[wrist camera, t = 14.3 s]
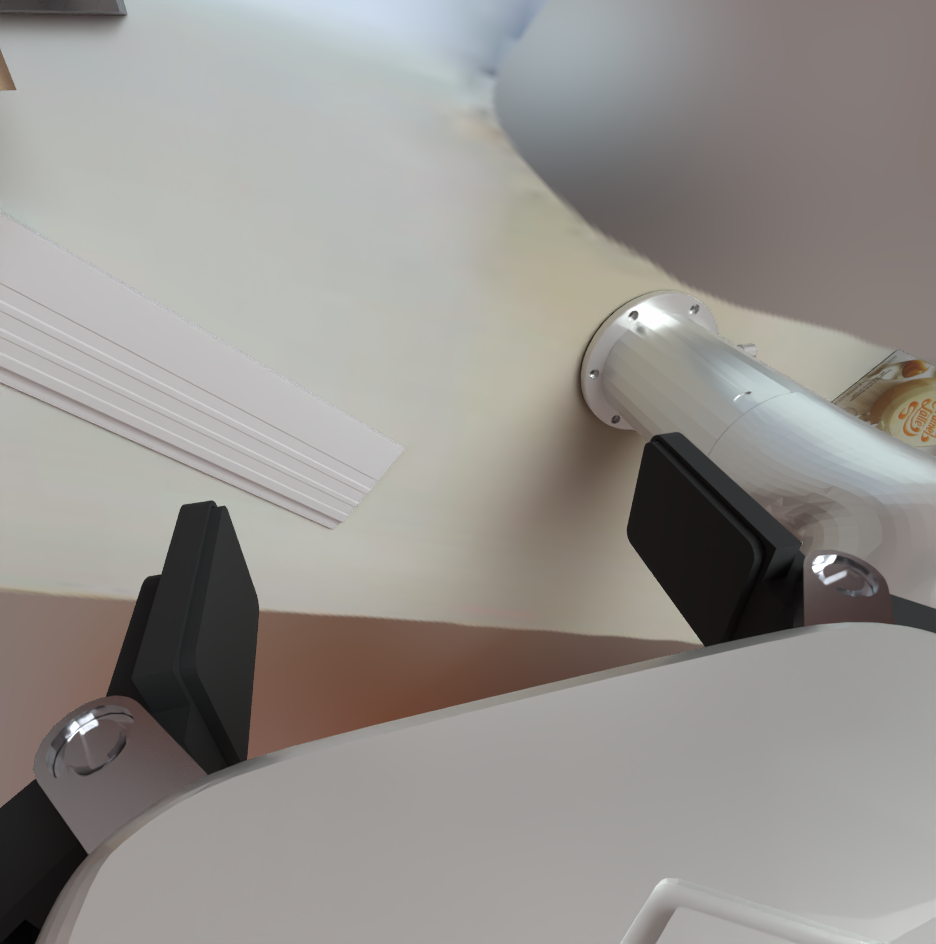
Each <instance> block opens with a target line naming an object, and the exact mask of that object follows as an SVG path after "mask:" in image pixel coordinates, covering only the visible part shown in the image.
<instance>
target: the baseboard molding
mask: <svg viewBox="0 0 936 944" xmlns="http://www.w3.org/2000/svg"><path fill="white" fill-rule="evenodd" d="M0 382H1V383H3V384H5V385H8V386H10V387H12V388H15V389H17V390H19V391H21V392H24V393H26V394H28V395H30V396H33V397H35V398H37V399H39V400H42V401H44V402H46V403H48V404H51V405H53V406H55V407H57V408H60V409H62V410H64V411H66V412H69V413H71V414H73V415H75V416H78V417H80V418H82V419H85V420H87V421H89V422H91V423H94V424H96V425H98V426H100V427H103V428H105V429H107V430H109V431H112V432H114V433H116V434H118V435H121V436H123V437H125V438H127V439H130V440H132V441H134V442H136V443H139V444H141V445H143V446H145V447H148V448H150V449H152V450H155V451H157V452H159V453H161V454H164V455H166V456H168V457H170V458H173V459H175V460H177V461H179V462H182V463H184V464H186V465H188V466H191V467H193V468H195V469H197V470H200V471H202V472H204V473H206V474H209V475H211V476H213V477H215V478H218V479H220V480H222V481H225V482H227V483H229V484H231V485H234V486H236V487H238V488H240V489H243V490H245V491H247V492H249V493H252V494H254V495H256V496H258V497H261V498H263V499H265V500H267V501H270V502H272V503H274V504H276V505H279V506H281V507H283V508H285V509H288V510H290V511H292V512H295V513H297V514H299V515H301V516H304V517H306V518H308V519H310V520H313V521H315V522H317V523H319V524H322V525H324V526H326V527H328V528H331V529H334V528H335V527H336V526H337V524H339V523H341V522H344V521H345V519H346V518H347V517H348V515H349V514H350V513H351V512H352V510H353V509H354V508H355V507H356V506H357V505H358V504H359V502H360V501H361V500H362V499H363V497H364V496H365V495H366V494H367V493H368V492H369V491H370V489H371V488H372V487H373V486H374V484H375V483H376V482H377V481H378V480H379V479H380V478H381V477H382V476H383V474H384V473H385V472H386V471H387V470H388V468H389V467H390V466H391V465H392V464H393V463H394V461H395V460H396V459H397V458H398V457H399V455H400V454H401V453H402V452H403V451H404V447H403V446H402V445H400V444H398V443H397V442H395V441H393V440H392V439H390V438H388V437H387V436H385V435H383V434H381V433H380V432H378V431H376V430H375V429H373V428H371V427H369V426H368V425H366V424H364V423H363V422H361V421H359V420H357V419H356V418H354V417H352V416H351V415H349V414H347V413H345V412H344V411H342V410H340V409H339V408H337V407H335V406H333V405H332V404H330V403H328V402H327V401H325V400H323V399H322V398H320V397H318V396H316V395H315V394H313V393H311V392H310V391H308V390H306V389H304V388H303V387H301V386H299V385H298V384H296V383H294V382H292V381H291V380H289V379H287V378H286V377H284V376H282V375H280V374H279V373H277V372H275V371H274V370H272V369H270V368H268V367H267V366H265V365H263V364H262V363H260V362H258V361H256V360H255V359H253V358H251V357H250V356H248V355H246V354H245V353H243V352H241V351H239V350H238V349H236V348H234V347H233V346H231V345H229V344H227V343H226V342H224V341H222V340H221V339H219V338H217V337H215V336H214V335H212V334H210V333H209V332H207V331H205V330H203V329H202V328H200V327H198V326H197V325H195V324H193V323H191V322H190V321H188V320H186V319H185V318H183V317H181V316H179V315H178V314H176V313H174V312H173V311H171V310H169V309H168V308H166V307H164V306H162V305H161V304H159V303H157V302H156V301H154V300H152V299H150V298H149V297H147V296H145V295H144V294H142V293H140V292H138V291H137V290H135V289H133V288H132V287H130V286H128V285H126V284H125V283H123V282H121V281H120V280H118V279H116V278H114V277H113V276H111V275H109V274H108V273H106V272H104V271H103V270H101V269H99V268H97V267H96V266H94V265H92V264H91V263H89V262H87V261H85V260H84V259H82V258H80V257H79V256H77V255H75V254H73V253H72V252H70V251H68V250H67V249H65V248H63V247H61V246H60V245H58V244H56V243H55V242H53V241H51V240H49V239H48V238H46V237H44V236H43V235H41V234H39V233H37V232H36V231H34V230H32V229H31V228H29V227H27V226H26V225H24V224H22V223H20V222H19V221H17V220H15V219H14V218H12V217H10V216H8V215H7V214H5V213H3V212H2V211H0Z"/></svg>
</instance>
